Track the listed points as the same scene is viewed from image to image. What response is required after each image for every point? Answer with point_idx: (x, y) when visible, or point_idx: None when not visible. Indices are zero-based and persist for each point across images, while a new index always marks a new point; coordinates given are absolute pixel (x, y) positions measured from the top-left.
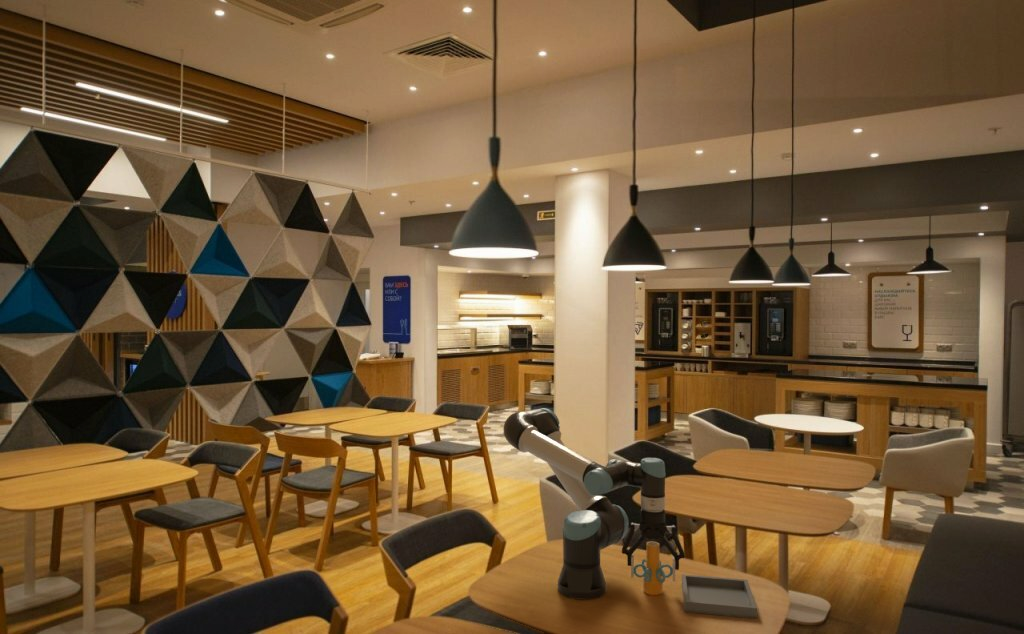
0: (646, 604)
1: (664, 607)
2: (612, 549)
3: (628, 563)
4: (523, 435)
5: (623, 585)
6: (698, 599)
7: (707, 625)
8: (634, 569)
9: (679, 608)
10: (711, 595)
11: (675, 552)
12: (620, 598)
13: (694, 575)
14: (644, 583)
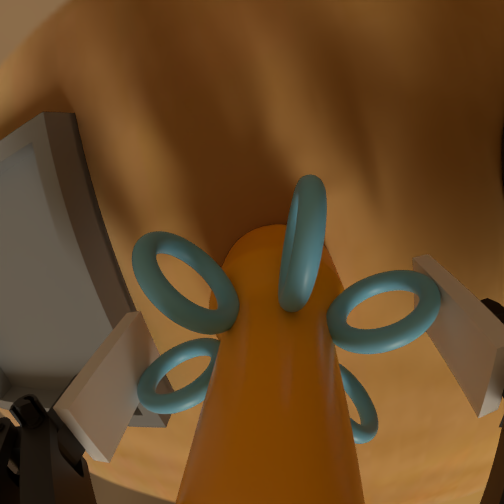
0: (272, 91)
1: (168, 104)
2: (445, 491)
3: (495, 309)
4: None
5: None
6: (53, 257)
7: (2, 63)
8: (432, 285)
9: (101, 135)
10: (37, 314)
11: (24, 463)
12: (427, 115)
13: None
14: (329, 261)
